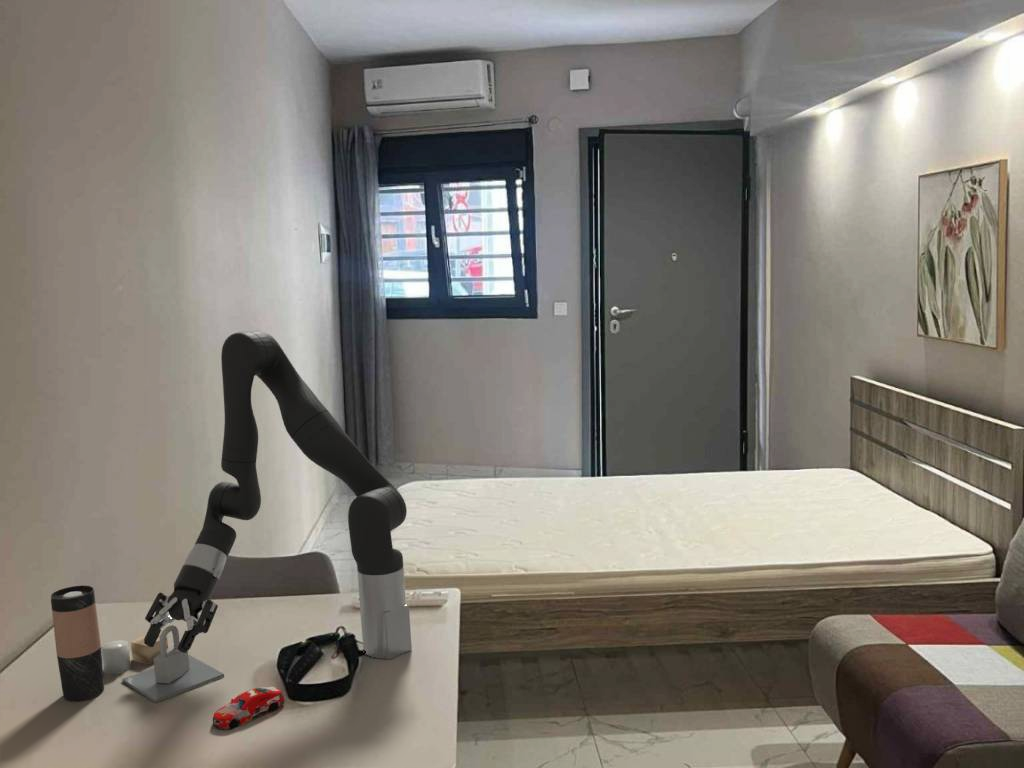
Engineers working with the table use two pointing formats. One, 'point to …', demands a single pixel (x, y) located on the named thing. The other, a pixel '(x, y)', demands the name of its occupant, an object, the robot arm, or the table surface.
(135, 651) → the oak block
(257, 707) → the race car
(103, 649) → the white rounded capsule
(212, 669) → the mat
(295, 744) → the table surface
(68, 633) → the travel mug
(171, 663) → the padlock
